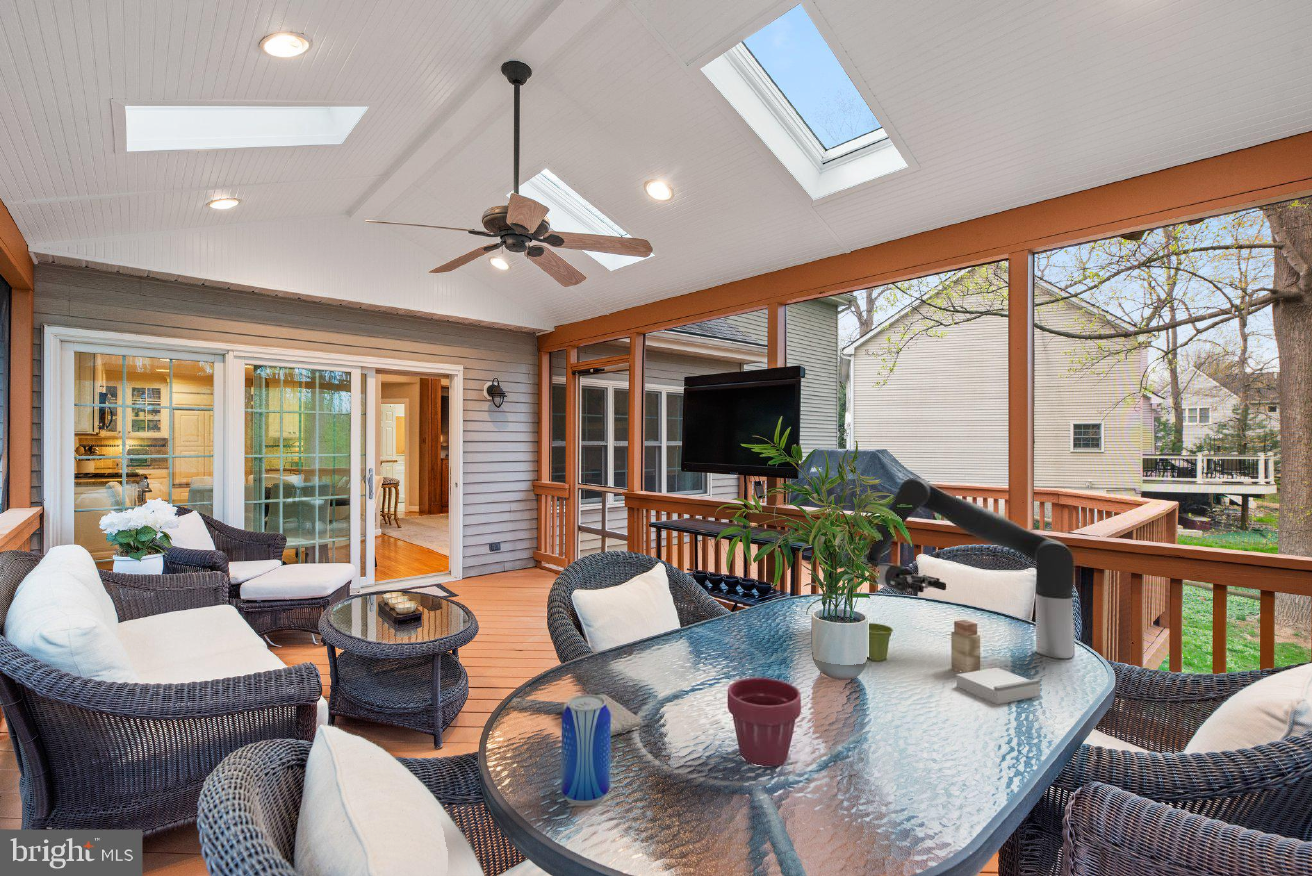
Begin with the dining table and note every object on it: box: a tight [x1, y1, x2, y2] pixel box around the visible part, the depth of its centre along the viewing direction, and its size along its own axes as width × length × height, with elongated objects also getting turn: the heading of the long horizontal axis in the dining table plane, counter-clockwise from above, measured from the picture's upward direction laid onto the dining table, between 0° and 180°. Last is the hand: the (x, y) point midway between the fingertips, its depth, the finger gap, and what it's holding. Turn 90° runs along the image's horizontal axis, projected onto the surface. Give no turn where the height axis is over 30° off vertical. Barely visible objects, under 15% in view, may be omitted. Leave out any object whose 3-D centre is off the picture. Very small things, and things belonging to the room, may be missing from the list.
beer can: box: [560, 694, 612, 807], centre depth 108 cm, size 8×8×16 cm
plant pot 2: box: [868, 622, 894, 662], centre depth 181 cm, size 9×9×9 cm
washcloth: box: [561, 693, 644, 735], centre depth 138 cm, size 12×18×3 cm, turn 35°
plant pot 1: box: [727, 677, 802, 767], centre depth 122 cm, size 14×14×13 cm
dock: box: [955, 667, 1041, 705], centre depth 156 cm, size 14×12×4 cm
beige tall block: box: [950, 619, 981, 673], centre depth 171 cm, size 5×5×13 cm
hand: (934, 587), depth 181 cm, fingers open, 8 cm apart
